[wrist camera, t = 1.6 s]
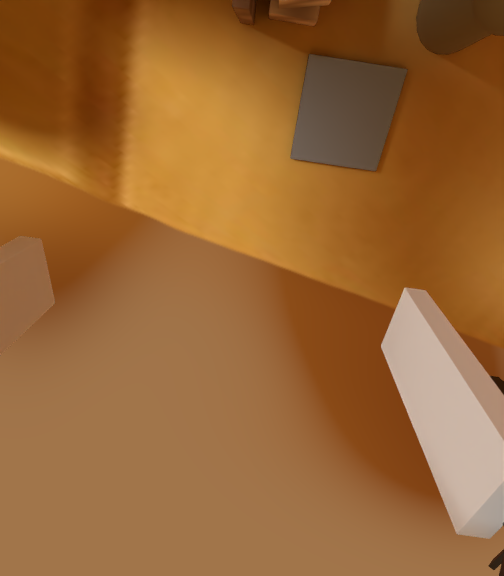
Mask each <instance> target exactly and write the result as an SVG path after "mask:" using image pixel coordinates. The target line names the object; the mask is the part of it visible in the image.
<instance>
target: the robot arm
mask: <svg viewBox="0 0 504 576" xmlns="http://www.w3.org/2000/svg"><path fill="white" fill-rule="evenodd" d="M54 303H55V300H54V296H53V291H52V286H51V282H50V277H49V273H48V268H47V263H46V259H45V254H44V249H43V245H42V241H41V239H39V238H31V237H24V236H19V237H17V238H16V239H14V240H12V241H10V242H8V243H7V244H5V245H3V246H1V247H0V355H1V354H2V353H3V352H4V351H5V350H6V349H7V348H8V347H10V345H12V344H13V342H15V341H16V340H17V339H18V338H19V337H20V336H21V335H22V334H23V333H24V332H25V331H26V330H27V329H28V328H29V327H30V326H31V325H33V324H34V323H35V322H36V321H37V320H38V319H39V318H40V317H41V316H42V315H43V314H44V313H45V312H46V311H47V310H48V309H49V308H50V307H51V306H52V305H54ZM381 348H382V350H383V353H384V355H385V358H386V360H387V363H388V365H389V368H390V370H391V373H392V375H393V378H394V380H395V383H396V385H397V387H398V390H399V392H400V395H401V397H402V400H403V402H404V404H405V407H406V410H407V412H408V414H409V417H410V419H411V422H412V425H413V427H414V429H415V432H416V434H417V437H418V439H419V442H420V444H421V446H422V449H423V452H424V454H425V457H426V459H427V461H428V464H429V466H430V469H431V471H432V474H433V476H434V479H435V481H436V484H437V486H438V489H439V491H440V494H441V496H442V498H443V501H444V503H445V506H446V508H447V511H448V513H449V516H450V518H451V521H452V523H453V526H454V528H455V531H456V533H457V534H459V535H467V536H474V537H482V538H491V537H492V536H493V535H494V534H495V533H496V532H497V531H498V530H499V529H500V528H501V527H502V526H503V525H504V381H502V380H501V379H500V378H499V377H494V376H489V375H488V373H487V372H486V371H485V369H484V368H483V367H482V365H481V364H480V363H479V361H478V360H477V358H476V357H475V356H474V354H473V353H472V352H471V351H470V349H469V348H468V346H467V345H466V344H465V342H464V341H463V340H462V338H461V337H460V336H459V334H458V333H457V332H456V330H455V329H454V328H453V326H452V325H451V324H450V322H449V321H448V319H447V318H446V317H445V315H444V314H443V313H442V311H441V310H440V309H439V307H438V306H437V305H436V303H435V302H434V301H433V299H432V298H431V297H430V295H429V294H428V293H427V291H426V290H420V289H413V288H404V290H403V293H402V295H401V298H400V300H399V303H398V305H397V308H396V310H395V313H394V315H393V317H392V320H391V322H390V325H389V328H388V330H387V332H386V335H385V337H384V340H383V342H382V345H381ZM500 564H502V565H501V569H500V573H499V576H504V550H502V551H501V552H500V553H499V554H498V555H497V556H496V557H495V558H494V559H493V560H492V561H491V563H490V565H489V567H490V568H492V569H493V570H495V569H496V568H497V567H498V566H499V565H500Z"/></svg>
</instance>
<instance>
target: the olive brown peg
mask: <svg viewBox="0 0 504 576" xmlns="http://www.w3.org/2000/svg"><path fill="white" fill-rule="evenodd" d="M416 20H417V33H418V35H419V38H420V41H421V43H422V44H423V45H424V46H425V47H426V48H427V50H429V51H431V52H433V53H436V54H450V53H454V52H457V51H459V50H461V49H463V48H465V47H467V46H469V45H471V44H473V43H475V42H477V41H479V40H481V39H483V38H485V37H487V36H488V35H490V34H494V35H502V36H504V0H421V2H420V4H419V8H418V13H417V17H416Z"/></svg>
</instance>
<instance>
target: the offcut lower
mask: <svg viewBox="0 0 504 576" xmlns="http://www.w3.org/2000/svg"><path fill="white" fill-rule="evenodd" d="M319 10H320V6H311V7H299V8H287V9H278V0H271V1H270V9H269V19H273V20H279V21H285V22H291V23H297V24H302V25H308V26H315V24H316V23H317V21H318V16H319Z"/></svg>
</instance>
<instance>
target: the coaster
mask: <svg viewBox="0 0 504 576" xmlns="http://www.w3.org/2000/svg"><path fill="white" fill-rule="evenodd" d="M407 70H408V69H403V68H397V67H390V66H384V65H377V64H371V63H365V62H358V61H352V60H346V59H339V58H333V57H326V56H320V55H314V54H309V57H308V63H307V68H306V74H305V79H304V85H303V90H302V96H301V102H300V107H299V113H298V118H297V124H296V129H295V135H294V140H293V146H292V151H291V157H290V158H291V159H297V160H304V161H311V162H317V163H324V164H331V165H337V166H344V167H351V168H357V169H364V170H371V171H376V170H377V166H378V163H379V160H380V157H381V153H382V150H383V147H384V144H385V141H386V137H387V134H388V131H389V128H390V125H391V121H392V118H393V115H394V112H395V109H396V105H397V102H398V99H399V96H400V93H401V89H402V86H403V83H404V80H405V77H406V73H407Z"/></svg>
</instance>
